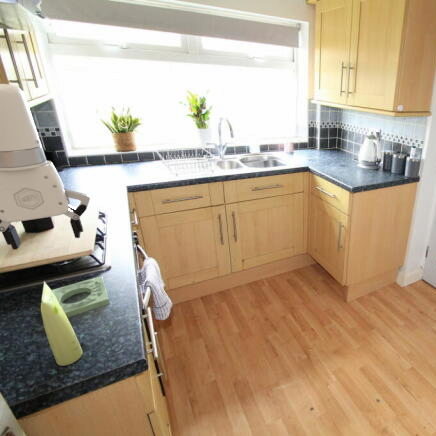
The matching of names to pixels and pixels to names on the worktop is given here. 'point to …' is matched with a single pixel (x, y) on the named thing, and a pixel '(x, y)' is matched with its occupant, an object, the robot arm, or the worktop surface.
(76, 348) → the yellow-green tapered cone
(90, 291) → the base pad
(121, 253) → the worktop surface
